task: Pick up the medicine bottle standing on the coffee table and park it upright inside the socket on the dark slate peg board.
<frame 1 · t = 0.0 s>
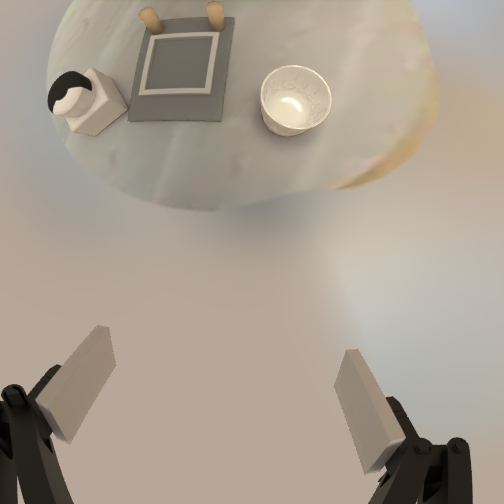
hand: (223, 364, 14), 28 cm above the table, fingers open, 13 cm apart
medicine bottle: (104, 107, 35), on the table
white cup: (285, 114, 36), on the table
peg board: (181, 66, 34), on the table
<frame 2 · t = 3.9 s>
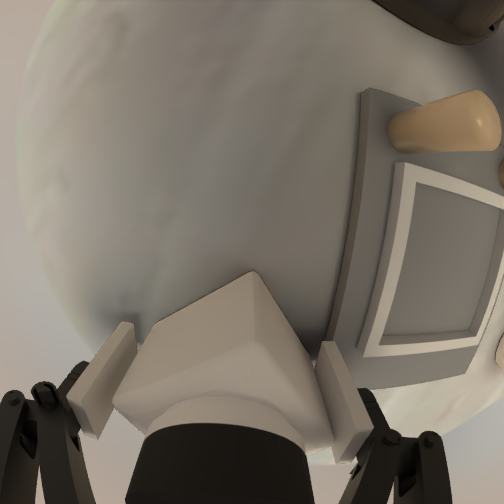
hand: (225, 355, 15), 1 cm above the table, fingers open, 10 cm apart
medicine bottle: (233, 341, 16), on the table, touching gripper
peg board: (438, 263, 15), on the table
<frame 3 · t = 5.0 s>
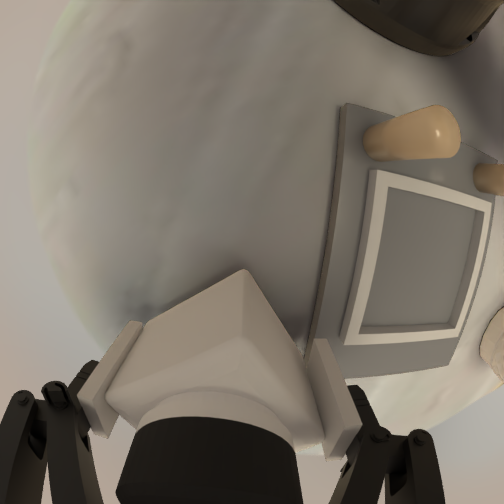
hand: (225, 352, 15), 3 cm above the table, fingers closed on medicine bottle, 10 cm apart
medicine bottle: (225, 339, 16), point 1 cm above the table, touching gripper
white cup: (497, 331, 20), on the table
peg board: (414, 260, 17), on the table
when the fingers open (4 cm above the table, at t = 10.1 s): medicine bottle stays where it is, resting on peg board.
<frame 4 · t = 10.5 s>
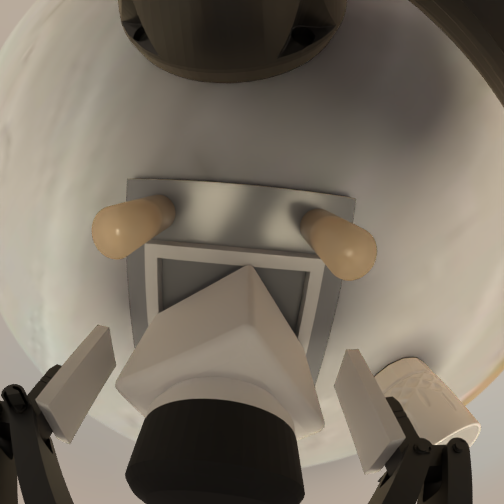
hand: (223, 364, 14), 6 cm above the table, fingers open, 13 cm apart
medicine bottle: (230, 332, 17), point 2 cm above the table, touching peg board
white cup: (395, 382, 22), on the table
peg board: (230, 315, 19), on the table
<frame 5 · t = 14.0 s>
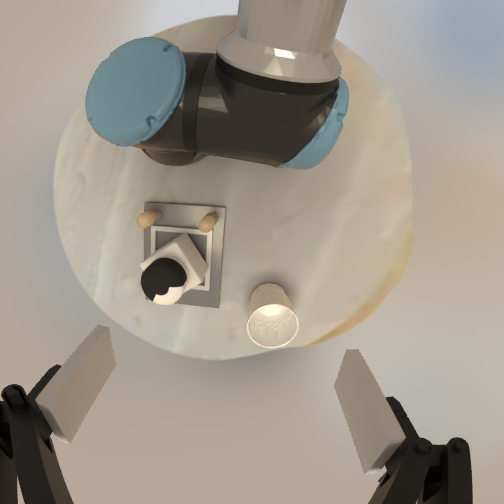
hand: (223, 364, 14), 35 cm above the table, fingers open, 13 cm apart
medicine bottle: (181, 259, 46), point 2 cm above the table, touching peg board
white cup: (268, 299, 51), on the table
peg board: (182, 255, 48), on the table
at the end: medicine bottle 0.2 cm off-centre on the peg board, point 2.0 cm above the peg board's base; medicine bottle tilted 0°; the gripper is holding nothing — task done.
